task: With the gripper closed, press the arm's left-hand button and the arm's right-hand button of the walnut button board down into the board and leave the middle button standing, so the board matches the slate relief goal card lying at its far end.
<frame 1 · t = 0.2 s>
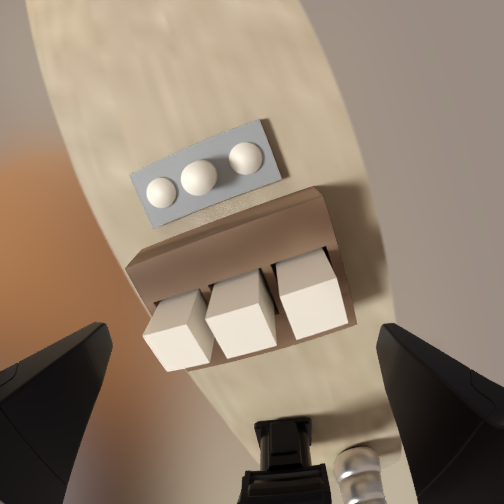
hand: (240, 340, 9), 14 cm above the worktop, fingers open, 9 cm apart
goal card: (203, 174, 21), on the worktop
button 1: (309, 288, 19), point 5 cm above the worktop, slide at 0.0 cm
button middle: (243, 309, 19), point 5 cm above the worktop, slide at 0.0 cm
button 2: (183, 326, 20), point 5 cm above the worktop, slide at 0.0 cm
plastic bottle: (353, 451, 35), on the worktop
board: (246, 276, 24), on the worktop
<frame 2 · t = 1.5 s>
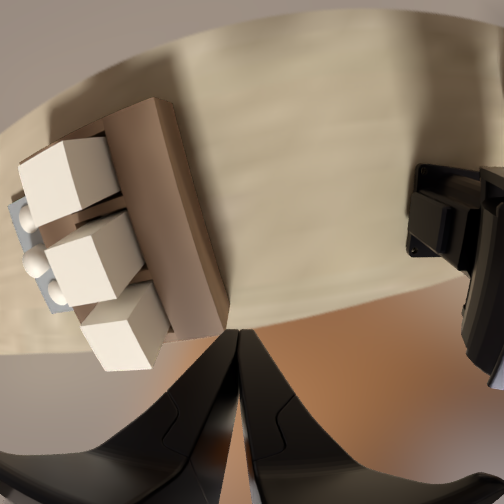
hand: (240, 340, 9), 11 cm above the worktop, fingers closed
goal card: (47, 253, 20), on the worktop
button 1: (74, 177, 13), point 5 cm above the worktop, slide at 0.0 cm
button middle: (100, 254, 15), point 5 cm above the worktop, slide at 0.0 cm
button 2: (130, 322, 17), point 5 cm above the worktop, slide at 0.0 cm
board: (132, 228, 19), on the worktop
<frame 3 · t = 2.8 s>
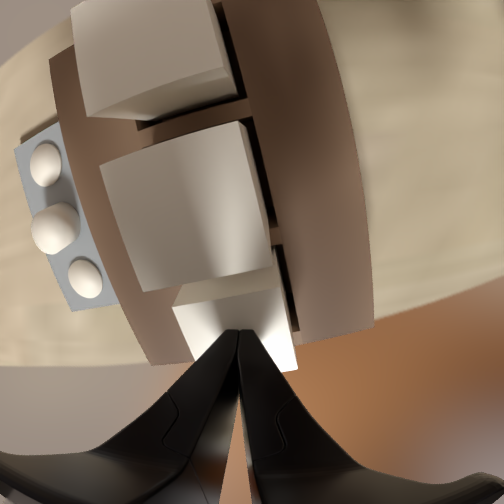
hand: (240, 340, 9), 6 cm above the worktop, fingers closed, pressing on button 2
goal card: (70, 219, 14), on the worktop
button 1: (167, 53, 7), point 5 cm above the worktop, slide at 0.0 cm
button middle: (203, 192, 9), point 5 cm above the worktop, slide at 0.0 cm
button 2: (242, 300, 11), point 3 cm above the worktop, slide at 1.2 cm, touching gripper
board: (221, 173, 13), on the worktop
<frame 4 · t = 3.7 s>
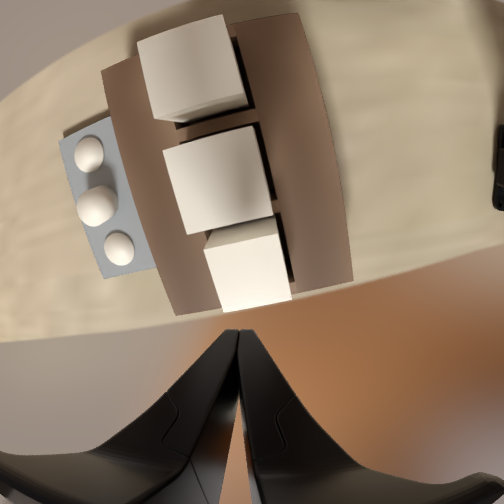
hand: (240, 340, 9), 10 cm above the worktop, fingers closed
goal card: (107, 200, 18), on the worktop
button 1: (200, 76, 11), point 5 cm above the worktop, slide at 0.0 cm
button middle: (225, 173, 13), point 5 cm above the worktop, slide at 0.0 cm
button 2: (250, 254, 16), point 3 cm above the worktop, slide at 1.5 cm
board: (234, 163, 17), on the worktop
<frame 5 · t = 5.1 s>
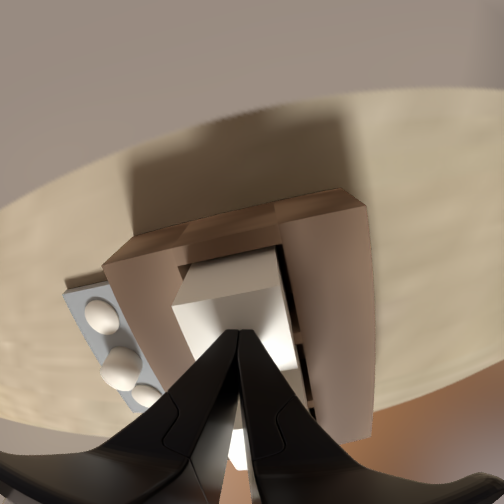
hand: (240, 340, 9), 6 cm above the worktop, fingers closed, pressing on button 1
goal card: (129, 354, 17), on the worktop
button 1: (242, 299, 11), point 3 cm above the worktop, slide at 1.4 cm, touching gripper
button middle: (266, 401, 12), point 5 cm above the worktop, slide at 0.0 cm
button 2: (282, 428, 15), point 3 cm above the worktop, slide at 1.5 cm
board: (265, 336, 16), on the worktop
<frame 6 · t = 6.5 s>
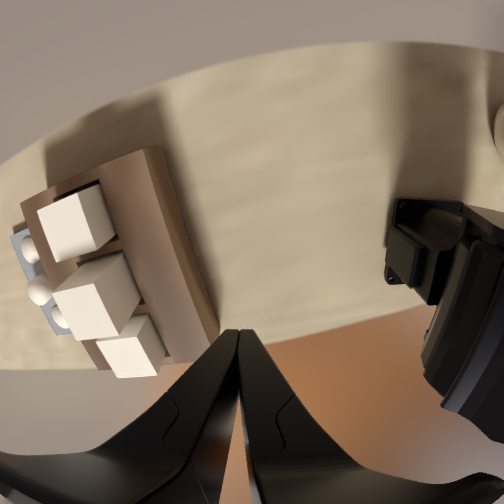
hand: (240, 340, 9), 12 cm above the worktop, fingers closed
goal card: (50, 281, 22), on the worktop
button 1: (86, 216, 16), point 3 cm above the worktop, slide at 1.5 cm
button middle: (101, 292, 17), point 5 cm above the worktop, slide at 0.0 cm
button 2: (137, 336, 20), point 3 cm above the worktop, slide at 1.5 cm
board: (128, 261, 21), on the worktop
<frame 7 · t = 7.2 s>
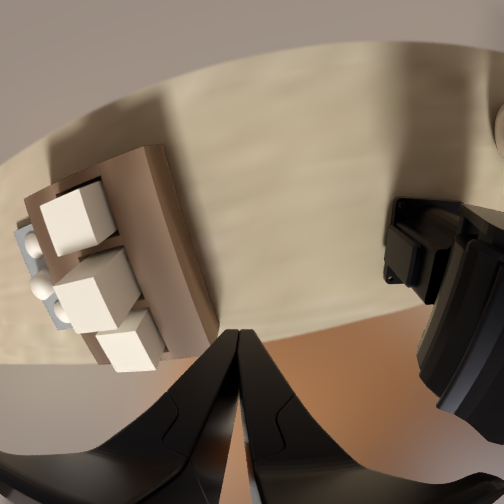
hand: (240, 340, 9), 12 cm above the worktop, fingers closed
goal card: (52, 276, 22), on the worktop
button 1: (88, 212, 17), point 3 cm above the worktop, slide at 1.5 cm
button middle: (102, 286, 17), point 5 cm above the worktop, slide at 0.0 cm
button 2: (137, 331, 20), point 3 cm above the worktop, slide at 1.5 cm
board: (129, 257, 21), on the worktop
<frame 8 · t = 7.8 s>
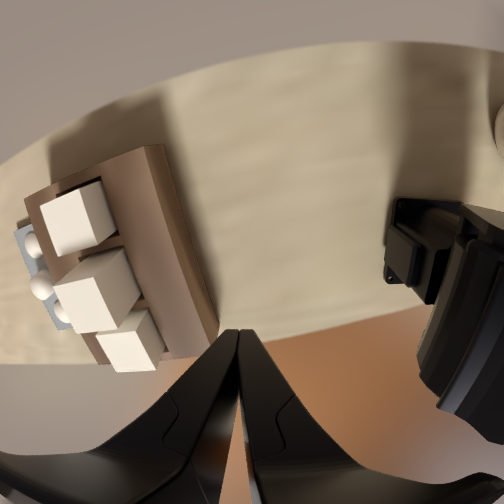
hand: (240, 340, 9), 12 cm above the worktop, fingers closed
goal card: (52, 276, 22), on the worktop
button 1: (88, 212, 17), point 3 cm above the worktop, slide at 1.5 cm
button middle: (102, 286, 17), point 5 cm above the worktop, slide at 0.0 cm
button 2: (137, 331, 20), point 3 cm above the worktop, slide at 1.5 cm
board: (129, 257, 21), on the worktop
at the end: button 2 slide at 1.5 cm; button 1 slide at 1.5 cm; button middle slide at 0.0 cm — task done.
